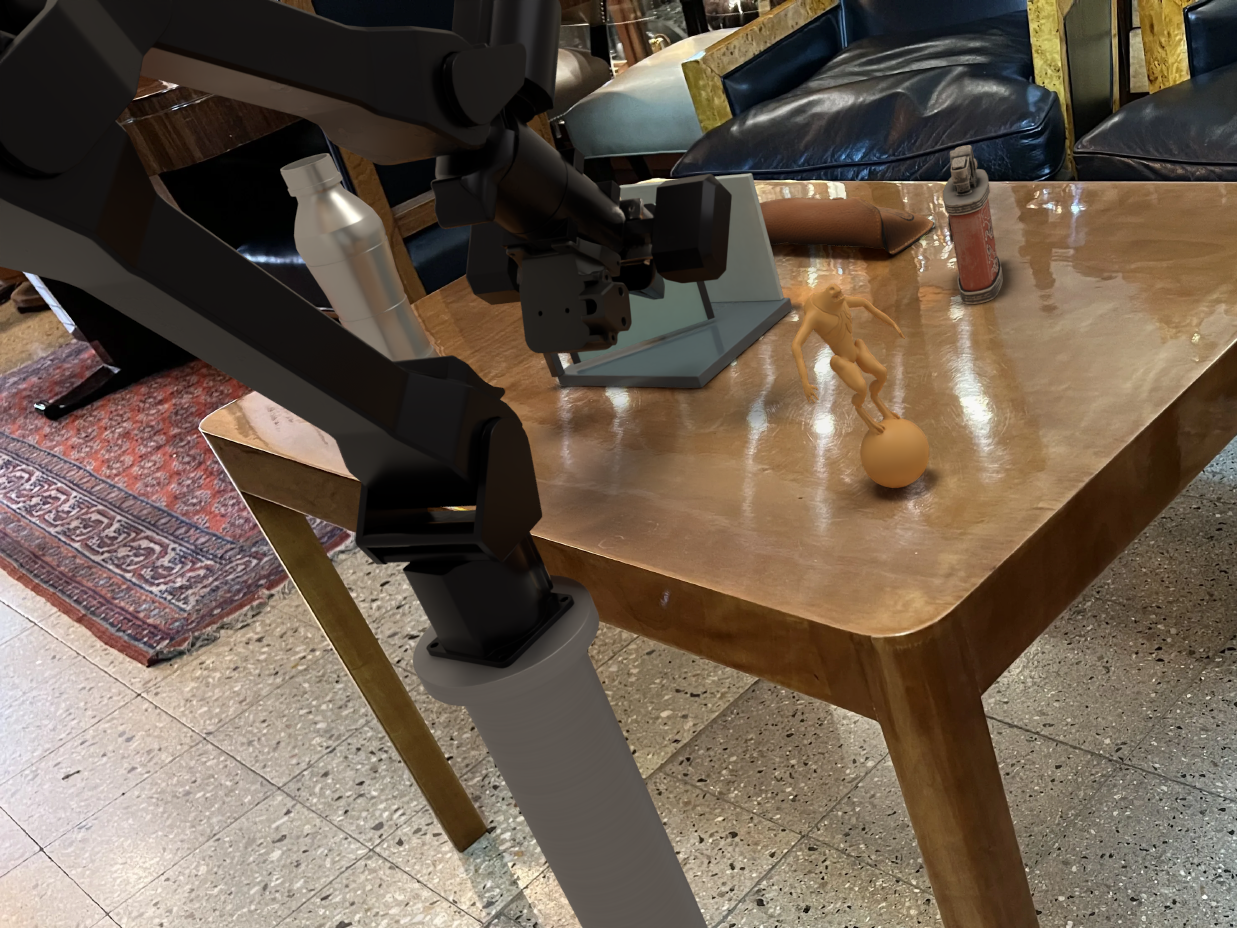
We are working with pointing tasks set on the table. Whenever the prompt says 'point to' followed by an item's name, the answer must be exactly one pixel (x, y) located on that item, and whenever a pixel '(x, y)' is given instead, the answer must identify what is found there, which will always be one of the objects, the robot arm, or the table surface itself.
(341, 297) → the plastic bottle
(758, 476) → the table surface
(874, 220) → the sunglasses case
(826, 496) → the table surface
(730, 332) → the shower stall
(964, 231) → the lighter
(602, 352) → the shower door
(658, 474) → the table surface
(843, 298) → the figurine
